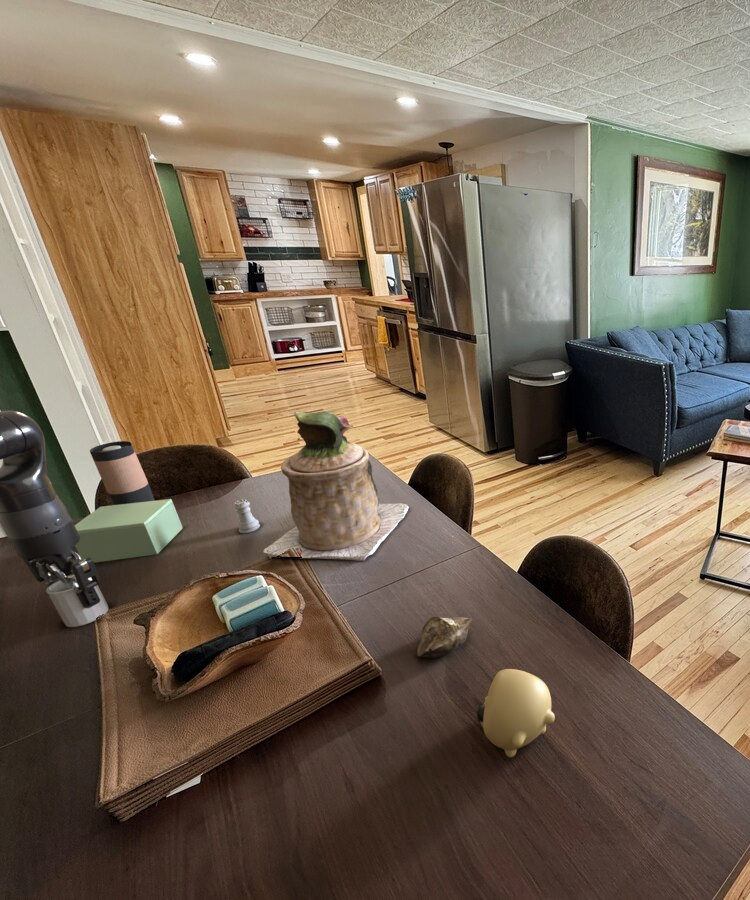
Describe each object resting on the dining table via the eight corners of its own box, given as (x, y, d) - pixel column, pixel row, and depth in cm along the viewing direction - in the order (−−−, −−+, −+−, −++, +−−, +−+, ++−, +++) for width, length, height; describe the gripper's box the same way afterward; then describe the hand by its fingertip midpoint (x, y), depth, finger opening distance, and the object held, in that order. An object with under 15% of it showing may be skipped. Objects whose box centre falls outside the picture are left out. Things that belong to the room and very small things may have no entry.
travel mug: (113, 522, 122) (80, 450, 114) (145, 507, 129) (116, 439, 121) (135, 526, 120) (103, 453, 112) (167, 511, 127) (139, 442, 119)
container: (84, 565, 105) (69, 535, 102) (117, 537, 115) (104, 509, 112) (157, 555, 108) (145, 526, 105) (183, 529, 119) (172, 501, 116)
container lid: (66, 535, 102) (64, 532, 102) (101, 509, 112) (100, 506, 112) (145, 525, 105) (143, 522, 105) (172, 501, 116) (171, 498, 115)
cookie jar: (369, 563, 106) (339, 430, 94) (261, 561, 106) (217, 428, 94) (412, 508, 129) (392, 395, 116) (323, 507, 129) (294, 394, 117)
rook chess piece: (262, 523, 121) (254, 496, 118) (258, 532, 117) (249, 504, 114) (242, 526, 120) (232, 499, 117) (236, 535, 116) (227, 507, 113)
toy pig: (542, 727, 73) (514, 661, 76) (575, 722, 64) (541, 647, 67) (485, 768, 67) (456, 694, 70) (512, 767, 58) (478, 684, 61)
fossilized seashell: (426, 666, 77) (482, 643, 83) (419, 624, 77) (475, 606, 84) (411, 662, 82) (465, 641, 89) (404, 623, 83) (458, 606, 90)
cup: (57, 631, 87) (37, 596, 84) (79, 609, 92) (61, 575, 89) (96, 624, 88) (78, 590, 85) (116, 603, 93) (100, 570, 90)
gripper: (-19, 531, 80) (26, 609, 87) (40, 542, 77) (83, 622, 84) (38, 509, 87) (77, 583, 94) (95, 519, 84) (131, 595, 91)
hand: (79, 601), depth 89 cm, fingers closed on cup, 6 cm apart
